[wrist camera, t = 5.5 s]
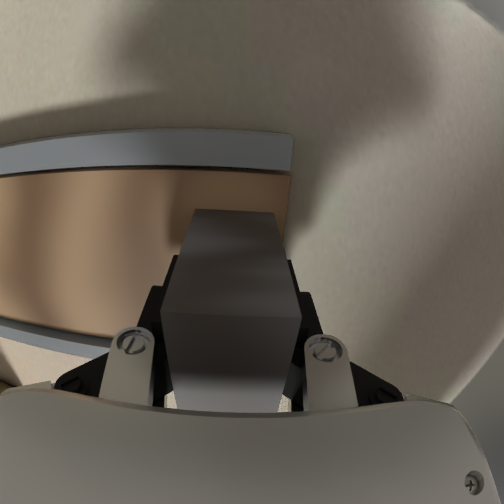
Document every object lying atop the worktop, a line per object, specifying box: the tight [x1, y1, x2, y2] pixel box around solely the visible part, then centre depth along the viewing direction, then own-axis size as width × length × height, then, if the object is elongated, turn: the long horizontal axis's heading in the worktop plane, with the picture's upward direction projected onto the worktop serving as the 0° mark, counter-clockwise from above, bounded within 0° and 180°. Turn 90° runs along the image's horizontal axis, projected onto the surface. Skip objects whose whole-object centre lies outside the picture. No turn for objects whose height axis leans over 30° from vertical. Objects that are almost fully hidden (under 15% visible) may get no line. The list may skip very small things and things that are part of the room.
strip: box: [0, 166, 302, 413], centre depth 10 cm, size 24×9×7 cm, turn 86°
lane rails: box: [0, 128, 294, 359], centre depth 12 cm, size 27×12×1 cm, turn 86°
